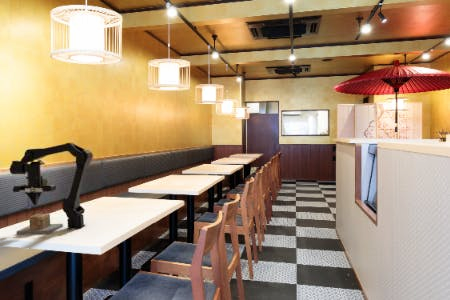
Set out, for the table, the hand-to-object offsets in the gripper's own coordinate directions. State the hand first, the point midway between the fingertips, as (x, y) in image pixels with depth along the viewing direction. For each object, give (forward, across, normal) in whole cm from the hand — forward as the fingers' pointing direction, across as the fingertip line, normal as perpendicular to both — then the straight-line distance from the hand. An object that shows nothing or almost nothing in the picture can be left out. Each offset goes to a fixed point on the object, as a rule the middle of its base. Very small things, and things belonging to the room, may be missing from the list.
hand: (35, 205), depth 169 cm
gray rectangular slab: (+12, -4, +3) cm, 13 cm away
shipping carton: (+10, -4, +3) cm, 11 cm away
